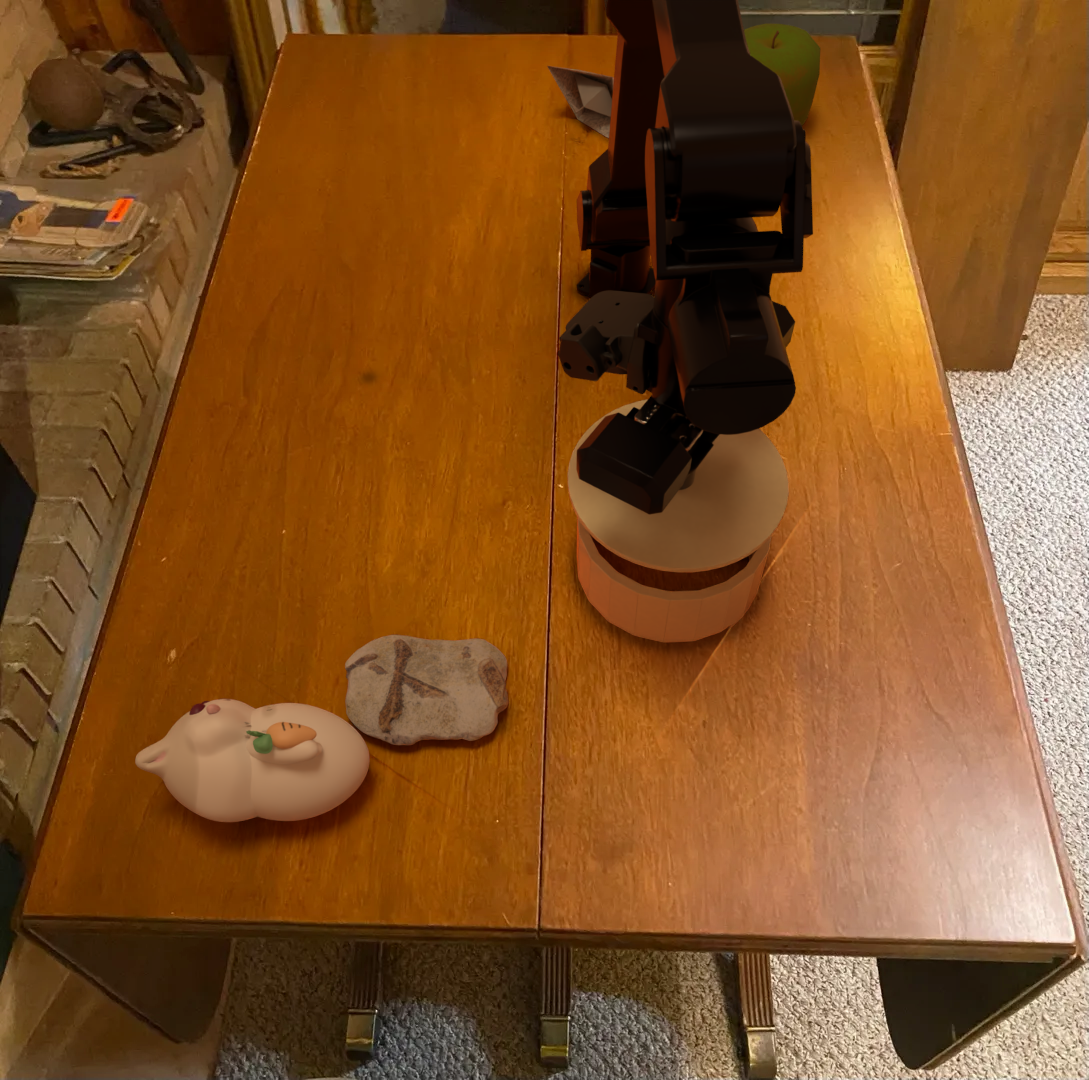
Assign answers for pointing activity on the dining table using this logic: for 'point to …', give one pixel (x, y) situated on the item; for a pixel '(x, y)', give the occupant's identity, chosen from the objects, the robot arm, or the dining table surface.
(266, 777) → the bunny figurine
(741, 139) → the robot arm
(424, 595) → the dining table surface
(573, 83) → the paper boat
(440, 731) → the stone
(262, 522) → the dining table surface
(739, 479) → the pot lid
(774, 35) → the apple
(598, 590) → the pot
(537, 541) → the dining table surface
